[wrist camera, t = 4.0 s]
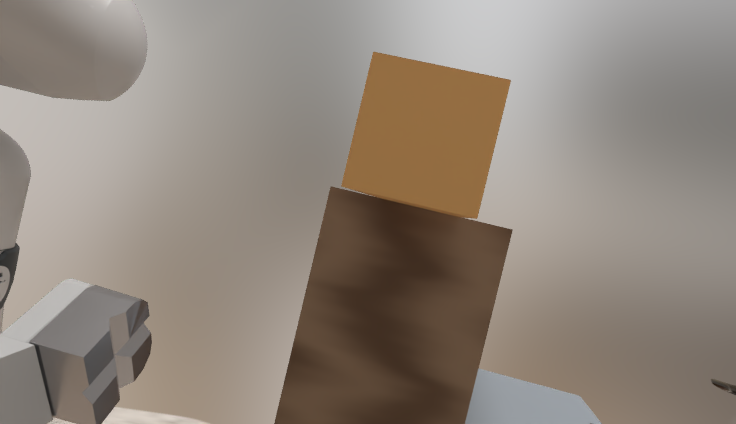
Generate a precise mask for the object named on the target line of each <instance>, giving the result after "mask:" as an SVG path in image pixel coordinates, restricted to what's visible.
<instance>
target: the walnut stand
mask: <svg viewBox="0 0 736 424" xmlns="http://www.w3.org/2000/svg"><path fill="white" fill-rule="evenodd" d="M511 234H512V230H511V229H507V228H503V227H499V226H494V225H490V224H486V223H482V222H478V221H474V220H469V219H465V218H461V217H457V216H453V215H448V214H444V213H440V212H436V211H432V210H427V209H423V208H419V207H415V206H411V205H407V204H402V203H398V202H394V201H390V200H386V199H381V198H377V197H373V196H369V195H365V194H360V193H356V192H352V191H348V190H344V189H339V188H335V187H331V188H330V192H329V196H328V200H327V205H326V209H325V213H324V217H323V221H322V225H321V230H320V234H319V238H318V243H317V247H316V251H315V255H314V259H313V263H312V267H311V272H310V276H309V281H308V284H307V289H306V293H305V297H304V301H303V305H302V310H301V314H300V318H299V322H298V326H297V331H296V335H295V339H294V343H293V347H292V352H291V356H290V361H289V364H288V369H287V373H286V377H285V381H284V385H283V390H282V394H281V398H280V402H279V406H278V410H277V415H276V419H275V423H274V424H465V421H466V417H467V413H468V409H469V405H470V401H471V397H472V393H473V389H474V385H475V380H476V376H477V372H478V368H479V364H480V360H481V356H482V352H483V348H484V344H485V339H486V336H487V331H488V328H489V323H490V319H491V315H492V311H493V307H494V303H495V299H496V295H497V291H498V287H499V283H500V279H501V275H502V271H503V266H504V262H505V258H506V254H507V250H508V246H509V242H510V238H511Z"/></svg>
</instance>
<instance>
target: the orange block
mask: <svg viewBox="0 0 736 424" xmlns="http://www.w3.org/2000/svg"><path fill="white" fill-rule="evenodd" d="M510 82H511V80H508V79H503V78H498V77H494V76H489V75H484V74H479V73H474V72H469V71H465V70H459V69H455V68H450V67H445V66H440V65H435V64H431V63H426V62H421V61H416V60H411V59H406V58H401V57H397V56H392V55H387V54H382V53H377V52H373V55H372V59H371V63H370V68H369V72H368V76H367V80H366V84H365V89H364V93H363V97H362V101H361V106H360V110H359V114H358V118H357V122H356V126H355V131H354V135H353V139H352V143H351V148H350V152H349V156H348V160H347V164H346V169H345V173H344V177H343V181H342V187H345V188H349V189H352V190H355V191H358V192H362V193H365V194H368V195H372V196H375V197H378V198H381V199H386V200H390V201H394V202H398V203H402V204H407V205H411V206H415V207H419V208H423V209H427V210H432V211H436V212H440V213H444V214H448V215H453V216H457V217H463V218H476V219H477V217H478V213H479V209H480V205H481V201H482V197H483V193H484V188H485V184H486V180H487V176H488V172H489V168H490V164H491V160H492V156H493V152H494V147H495V143H496V139H497V135H498V131H499V127H500V122H501V119H502V115H503V111H504V107H505V102H506V98H507V94H508V90H509V86H510Z"/></svg>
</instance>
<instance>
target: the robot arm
mask: <svg viewBox="0 0 736 424" xmlns="http://www.w3.org/2000/svg"><path fill="white" fill-rule="evenodd" d="M146 53H147V35H146V30H145V26H144V23H143V20H142V17H141V15H140V13H139V11H138V9H137V7H136V5H135V4H134V2H133V1H132V0H0V85H4V86H8V87H12V88H16V89H20V90H24V91H28V92H32V93H36V94H40V95H44V96H49V97H53V98H65V99H77V100H97V101H111V100H113V99H115V98H117V97H119V96H120V95H122V94H123V93H124V92H126V91H127V90H128V89H129V88H130V87H131V86H132V85H133V84H134V82H135V81H136V80H137V78H138V77H139V75H140V73H141V71H142V69H143V66H144V63H145V60H146V55H147V54H146ZM30 177H31V170H30V165H29V161H28V159H27V157H26V155H25V153H24V151H23V150H22V148H21V147H20V146H19V145H18V143H17V142H16V141H14V140H13V139H12V138H11V137H10V136H9V135H7V134H6V133H5V132H3V131H2V130H1V129H0V424H47V423H48V422H50V421H52V420H53V417H55V418H58V419H62V420H65V421H69V422H73V423H76V424H101V423H102V422H103V421H104V420H105V418H106V417H107V416H108V414H109V413H110V412H111V411H112V409H113V408H114V407H115V405H116V404H117V403H118V402H119V400H120V394H119V388H121V387H123V386H125V385H127V384H130V383H132V382H134V381H135V380H136V378H137V377H138V375H139V374H140V373H141V371H142V370H143V368H144V366H145V364H146V362H147V359H148V357H149V355H150V350H151V344H152V340H151V332H150V331H149V330H148V328H147V327H146V326H145V325H144V321H145V320H146V319H147V318H148V317H149V309H148V303H147V302H146V301H144V300H142V299H139V298H136V297H132V296H129V295H126V294H122V293H119V292H116V291H113V290H110V289H106V288H103V287H100V286H97V285H92V284H88V283H85V282H82V281H78V280H75V279H72V278H71V279H68V280H65V281H62V282H61V283H59V284H58V285H57V286H56V287H55V288H54V289H52V290H51V291H50V292H49V293H48V294H47V295H45V296H44V297H43V298H42V299H41V300H40V301H38V302H37V303H36V304H35V305H34V306H33V307H31V308H30V309H29V310H28V311H27V312H26V313H24V314H23V315H22V316H21V317H20V318H19V319H17V320H16V321H15V322H14V323H13V324H12V325H10V326H9V327H8V328H7V329H6V330H5V331H3V332H2V320H3V310H4V303H5V300H6V298H7V296H8V293H9V291H10V288H11V285H12V283H13V280H14V275H15V271H16V266H17V261H18V255H19V246H18V245H17V243H16V239H17V235H18V230H19V225H20V221H21V216H22V212H23V208H24V203H25V199H26V194H27V190H28V186H29V181H30ZM590 424H592V423H590Z"/></svg>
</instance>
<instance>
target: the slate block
mask: <svg viewBox="0 0 736 424" xmlns="http://www.w3.org/2000/svg"><path fill="white" fill-rule="evenodd" d="M590 423H592V424H602V423H601V422H600V421H599V420H598V418H597V417H596V416H595V415H594V413H593V412H592V411H591V410H590V408H589V407H588V406H587V404H586V403H585V402H584V401H583V399H582V398H581V397H580V396H578V395H574V394H571V393H567V392H563V391H559V390H556V389H552V388H548V387H545V386H541V385H538V384H534V383H530V382H526V381H523V380H519V379H515V378H512V377H508V376H504V375H501V374H497V373H493V372H489V371H486V370H482V369H478V372H477V376H476V380H475V385H474V389H473V393H472V397H471V401H470V405H469V409H468V413H467V417H466V421H465V424H590Z"/></svg>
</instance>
